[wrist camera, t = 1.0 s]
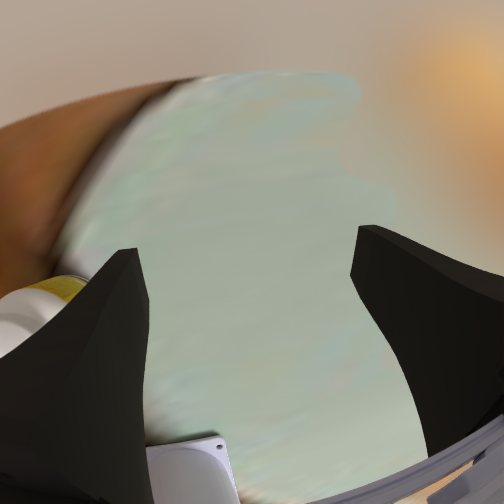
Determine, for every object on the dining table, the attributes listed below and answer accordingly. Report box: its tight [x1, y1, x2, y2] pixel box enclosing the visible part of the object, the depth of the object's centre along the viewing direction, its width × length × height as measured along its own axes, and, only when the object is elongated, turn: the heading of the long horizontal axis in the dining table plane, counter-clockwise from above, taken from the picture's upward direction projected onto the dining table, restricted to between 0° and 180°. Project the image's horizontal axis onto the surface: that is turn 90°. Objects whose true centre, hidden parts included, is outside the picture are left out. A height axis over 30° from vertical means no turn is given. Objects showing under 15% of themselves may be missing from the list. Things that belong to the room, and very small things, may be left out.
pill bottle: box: [0, 275, 89, 358], centre depth 14 cm, size 6×6×11 cm
